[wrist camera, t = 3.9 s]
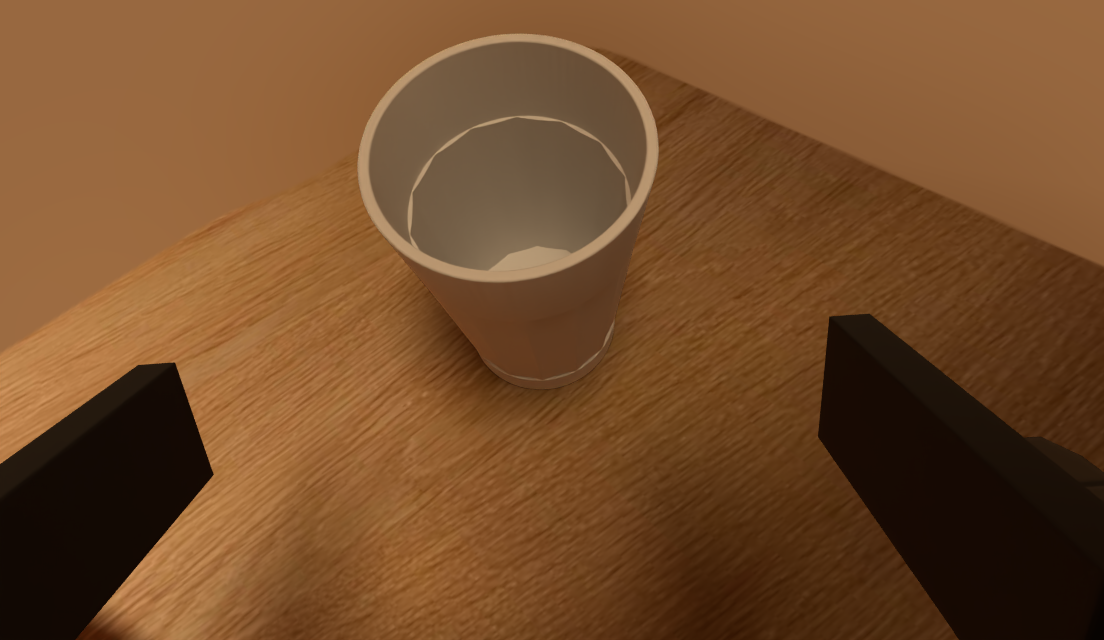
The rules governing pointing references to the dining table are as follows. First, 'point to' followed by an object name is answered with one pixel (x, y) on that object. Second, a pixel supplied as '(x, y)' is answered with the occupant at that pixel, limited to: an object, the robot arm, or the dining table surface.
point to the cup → (515, 195)
